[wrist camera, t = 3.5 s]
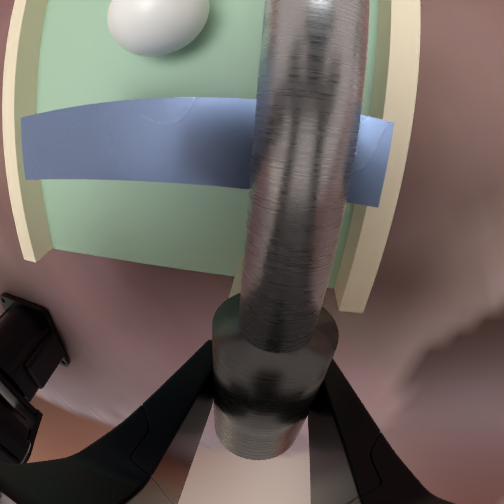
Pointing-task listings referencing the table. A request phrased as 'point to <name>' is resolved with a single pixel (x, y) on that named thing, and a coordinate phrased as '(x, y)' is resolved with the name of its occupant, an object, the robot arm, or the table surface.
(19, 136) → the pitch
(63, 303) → the table surface
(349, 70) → the rod
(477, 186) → the table surface
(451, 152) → the table surface
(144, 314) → the table surface
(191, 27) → the ball
